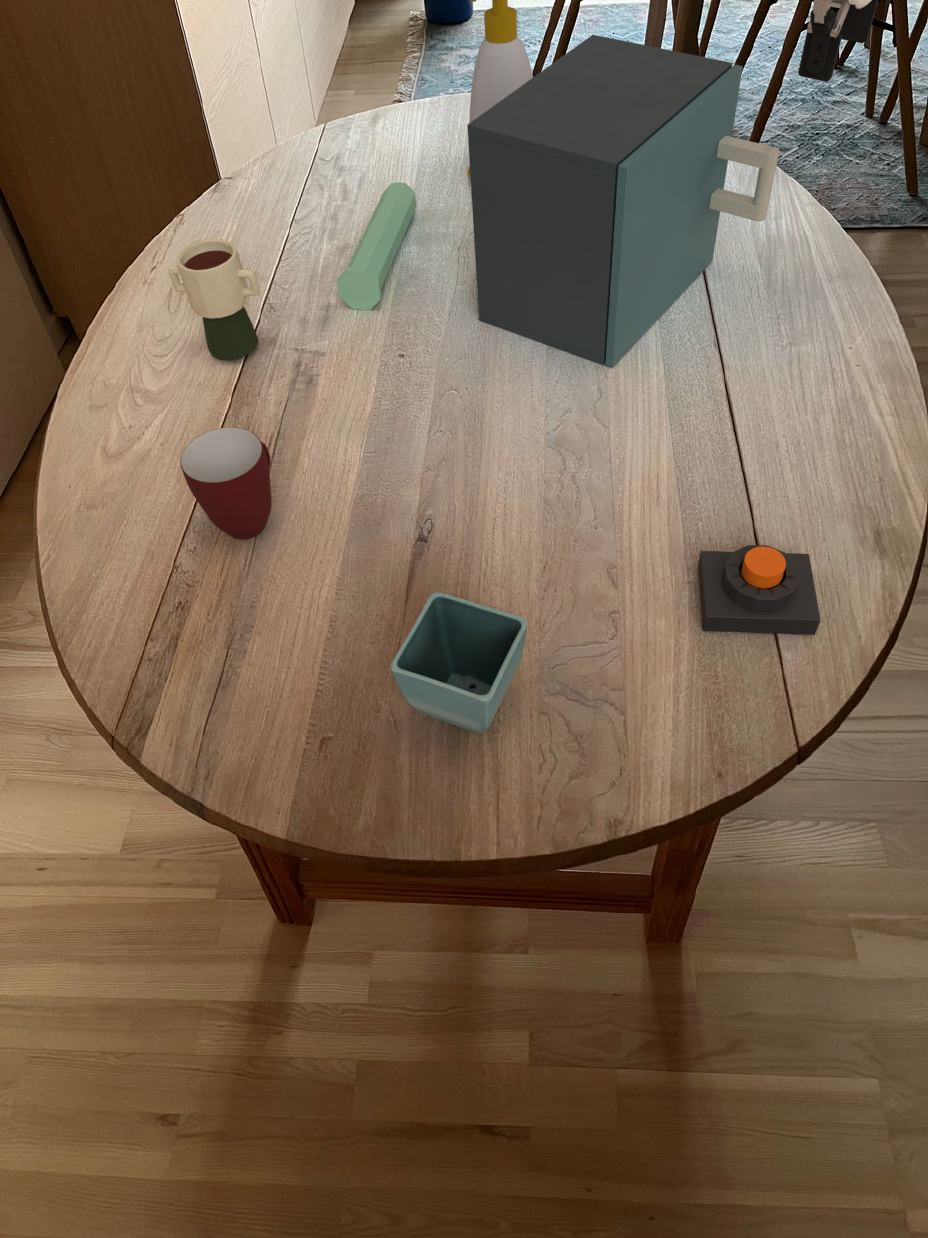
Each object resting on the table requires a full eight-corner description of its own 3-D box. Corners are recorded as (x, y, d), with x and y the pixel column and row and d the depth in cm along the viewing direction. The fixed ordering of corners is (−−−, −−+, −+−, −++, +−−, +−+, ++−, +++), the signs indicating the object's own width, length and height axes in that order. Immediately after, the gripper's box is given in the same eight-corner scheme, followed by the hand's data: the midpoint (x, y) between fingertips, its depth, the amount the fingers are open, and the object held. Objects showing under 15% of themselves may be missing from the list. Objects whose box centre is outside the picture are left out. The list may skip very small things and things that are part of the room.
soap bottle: (451, 180, 141) (435, -21, 121) (499, 149, 146) (492, -49, 126) (510, 202, 136) (504, -5, 116) (558, 168, 141) (560, -35, 121)
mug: (233, 479, 103) (208, 407, 96) (302, 487, 102) (282, 414, 94) (196, 549, 97) (166, 478, 89) (269, 559, 96) (245, 487, 88)
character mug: (284, 335, 120) (260, 239, 109) (267, 370, 115) (240, 273, 105) (204, 330, 121) (173, 235, 111) (184, 364, 117) (150, 269, 107)
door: (762, 275, 121) (802, 77, 102) (665, 386, 108) (690, 184, 90) (705, 258, 124) (734, 64, 105) (605, 364, 111) (618, 165, 93)
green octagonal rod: (388, 166, 132) (341, 261, 117) (427, 183, 133) (386, 280, 118) (377, 203, 137) (331, 300, 122) (416, 219, 138) (374, 317, 123)
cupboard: (703, 259, 124) (732, 62, 105) (603, 365, 112) (615, 163, 93) (585, 224, 131) (592, 34, 112) (478, 320, 119) (467, 124, 100)
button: (779, 559, 87) (783, 546, 85) (784, 589, 84) (788, 576, 83) (739, 558, 87) (742, 545, 86) (742, 588, 85) (746, 575, 83)
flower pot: (531, 679, 85) (530, 617, 78) (493, 760, 80) (489, 702, 73) (442, 651, 87) (433, 589, 80) (400, 727, 82) (387, 668, 75)
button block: (804, 568, 90) (813, 540, 87) (815, 635, 86) (825, 607, 82) (697, 565, 92) (703, 537, 88) (702, 631, 87) (708, 603, 84)
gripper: (895, -124, 74) (837, 102, 88) (962, -182, 83) (899, 32, 96) (804, -136, 77) (761, 85, 91) (877, -191, 86) (828, 19, 99)
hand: (832, 58), depth 94 cm, fingers open, 9 cm apart
